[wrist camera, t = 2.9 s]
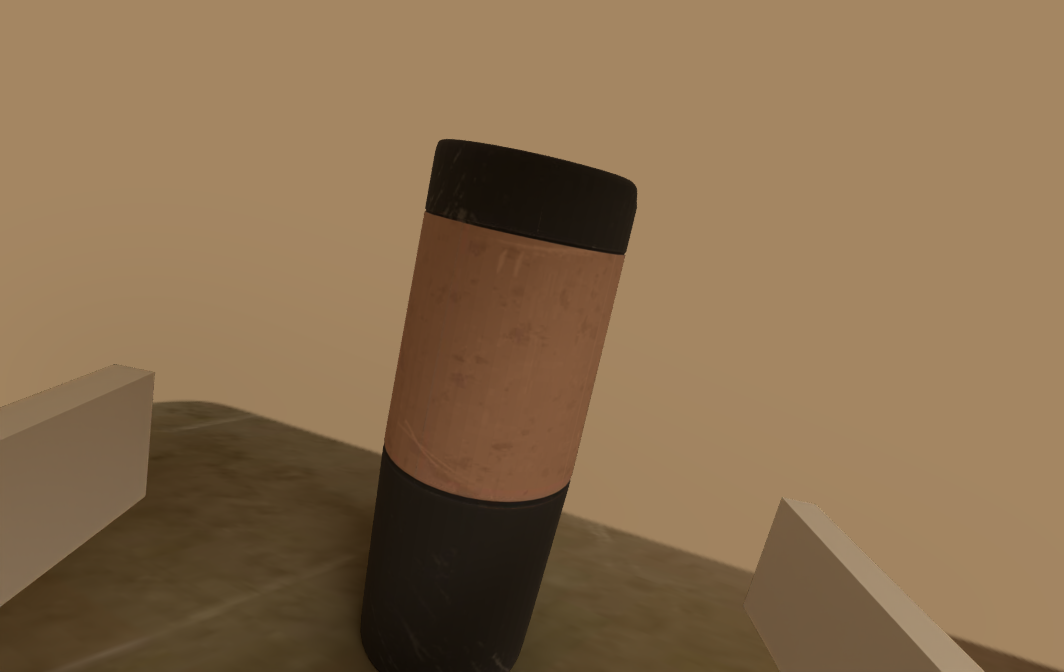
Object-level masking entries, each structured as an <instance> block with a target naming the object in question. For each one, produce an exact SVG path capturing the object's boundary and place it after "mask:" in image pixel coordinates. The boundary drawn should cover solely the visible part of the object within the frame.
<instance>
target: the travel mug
mask: <svg viewBox="0 0 1064 672" xmlns="http://www.w3.org/2000/svg"><path fill="white" fill-rule="evenodd" d="M425 209H426V211H425V213H424V218H423V224H422V230H421V235H420V241H419V246H418V252H417V258H416V264H415V270H414V275H413V280H412V286H411V292H410V297H409V303H408V308H407V314H406V320H405V326H404V331H403V336H402V342H401V348H400V354H399V359H398V365H397V371H396V377H395V382H394V387H393V393H392V399H391V405H390V410H389V416H388V421H387V427H386V432H385V438H384V441H385V442H384V446H383V452H382V460H381V468H380V475H379V483H378V491H377V498H376V506H375V513H374V521H373V529H372V536H371V544H370V552H369V559H368V567H367V575H366V582H365V590H364V598H363V607H362V616H361V636H362V642H363V645H364V648H365V651H366V653H367V655H368V657H369V659H370V661H371V662H372V663H373V665H374V666H375V667H376V668H377V669H378V670H379V671H380V672H509V671H510V669H511V668H512V667H513V665H514V663H515V662H516V660H517V658H518V656H519V653H520V650H521V647H522V644H523V641H524V638H525V635H526V632H527V628H528V625H529V622H530V619H531V615H532V612H533V608H534V605H535V601H536V598H537V594H538V591H539V588H540V584H541V581H542V577H543V574H544V570H545V567H546V563H547V560H548V556H549V553H550V550H551V546H552V543H553V539H554V536H555V532H556V529H557V525H558V522H559V518H560V515H561V512H562V508H563V505H564V501H565V498H566V494H567V491H568V487H569V484H570V478H571V476H572V473H573V469H574V465H575V460H576V456H577V453H578V448H579V444H580V440H581V436H582V432H583V428H584V424H585V419H586V415H587V411H588V407H589V403H590V399H591V395H592V391H593V386H594V382H595V378H596V374H597V370H598V366H599V362H600V357H601V354H602V349H603V345H604V341H605V337H606V333H607V329H608V325H609V320H610V316H611V312H612V308H613V304H614V299H615V296H616V291H617V287H618V283H619V279H620V275H621V271H622V267H623V263H624V258H625V255H624V254H625V252H626V250H627V246H628V241H629V238H630V234H631V230H632V225H633V221H634V217H635V213H636V209H637V188H636V186H635V184H634V183H633V182H631V181H630V180H628V179H626V178H624V177H621V176H618V175H616V174H613V173H610V172H606V171H603V170H600V169H596V168H592V167H589V166H585V165H582V164H577V163H574V162H570V161H566V160H562V159H558V158H554V157H550V156H545V155H541V154H536V153H532V152H527V151H522V150H518V149H512V148H508V147H502V146H497V145H491V144H485V143H479V142H472V141H465V140H455V139H444V140H440V141H439V142H438V145H437V147H436V151H435V156H434V161H433V167H432V173H431V178H430V184H429V190H428V196H427V201H426V207H425Z"/></svg>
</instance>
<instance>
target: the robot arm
mask: <svg viewBox="0 0 1064 672" xmlns="http://www.w3.org/2000/svg"><path fill="white" fill-rule="evenodd" d="M154 376H155V372H152V371H147V370H142V369H137V368H132V367H127V366H122V365H117V364H114V365H111V366H108V367H106V368H103V369H101V370H98V371H95V372H93V373H90V374H87V375H85V376H82V377H80V378H77V379H74V380H71V381H69V382H66V383H64V384H61V385H58V386H56V387H53V388H50V389H48V390H45V391H43V392H40V393H37V394H35V395H32V396H29V397H26V398H24V399H21V400H18V401H16V402H13V403H11V404H8V405H5V406H3V407H0V607H1V606H2V605H3V604H5V603H6V602H7V601H9V600H10V599H11V598H13V597H14V596H15V595H16V594H18V593H19V592H20V591H22V590H23V589H24V588H26V587H27V586H28V585H30V584H31V583H32V582H34V581H35V580H36V579H37V578H39V577H40V576H41V575H43V574H44V573H45V572H47V571H48V570H49V569H51V568H52V567H53V566H55V565H56V564H57V563H58V562H60V561H61V560H62V559H64V558H65V557H66V556H68V555H69V554H70V553H72V552H73V551H74V550H76V549H77V548H78V547H79V546H81V545H82V544H83V543H85V542H86V541H87V540H89V539H90V538H91V537H93V536H94V535H95V534H97V533H98V532H99V531H100V530H102V529H103V528H104V527H106V526H107V525H108V524H110V523H111V522H112V521H114V520H115V519H116V518H118V517H119V516H120V515H121V514H123V513H124V512H125V511H127V510H128V509H129V508H131V507H132V506H133V505H135V504H136V503H137V502H139V501H140V500H141V499H142V498H144V497H145V496H146V484H147V470H148V457H149V443H150V430H151V416H152V403H153V390H154ZM743 607H744V609H745V610H746V612H747V614H748V616H749V618H750V619H751V621H752V623H753V625H754V626H755V628H756V630H757V632H758V633H759V635H760V637H761V639H762V641H763V642H764V644H765V646H766V648H767V649H768V651H769V653H770V655H771V656H772V658H773V660H774V662H775V664H776V665H777V667H778V669H779V671H780V672H985V671H984V670H983V669H982V668H981V667H980V666H978V665H977V664H976V663H975V662H974V661H973V660H972V659H971V658H970V657H969V656H968V655H967V654H966V653H965V652H964V651H963V650H962V649H961V648H960V647H959V646H958V645H957V644H956V643H955V642H954V641H953V640H952V639H951V638H950V637H949V636H948V635H947V634H946V633H945V632H944V631H943V630H942V629H941V628H940V627H939V626H938V625H937V624H936V623H935V622H934V621H933V620H932V619H931V618H930V617H929V616H928V615H927V614H926V613H925V612H924V611H923V610H922V609H921V608H920V607H919V606H918V605H917V604H916V603H915V602H914V601H913V600H912V599H911V598H910V597H909V596H908V595H907V594H906V593H905V592H904V591H903V590H902V589H901V588H900V587H899V586H898V585H897V584H896V583H895V582H894V581H893V580H892V579H891V578H890V577H889V576H888V575H887V574H886V573H885V572H884V571H883V570H882V569H881V568H880V567H879V566H878V565H876V563H874V562H873V560H871V559H870V558H869V557H868V556H867V555H866V554H865V553H864V552H863V551H862V550H861V549H860V548H859V547H858V546H857V545H856V544H855V543H854V542H853V541H852V540H851V539H850V538H849V537H848V536H847V535H846V534H845V533H844V532H843V531H842V530H841V529H840V528H839V527H838V526H837V525H836V524H835V523H834V522H833V521H832V520H831V519H830V518H829V517H828V516H827V515H826V514H825V513H824V512H823V511H822V510H821V509H820V508H819V507H818V506H817V505H816V504H813V503H808V502H803V501H797V500H793V499H788V498H783V497H782V499H781V501H780V504H779V507H778V510H777V513H776V515H775V518H774V521H773V524H772V526H771V529H770V532H769V535H768V538H767V540H766V543H765V546H764V549H763V551H762V554H761V557H760V560H759V563H758V565H757V568H756V571H755V574H754V577H753V579H752V582H751V585H750V588H749V590H748V593H747V596H746V599H745V602H744V604H743Z"/></svg>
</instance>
